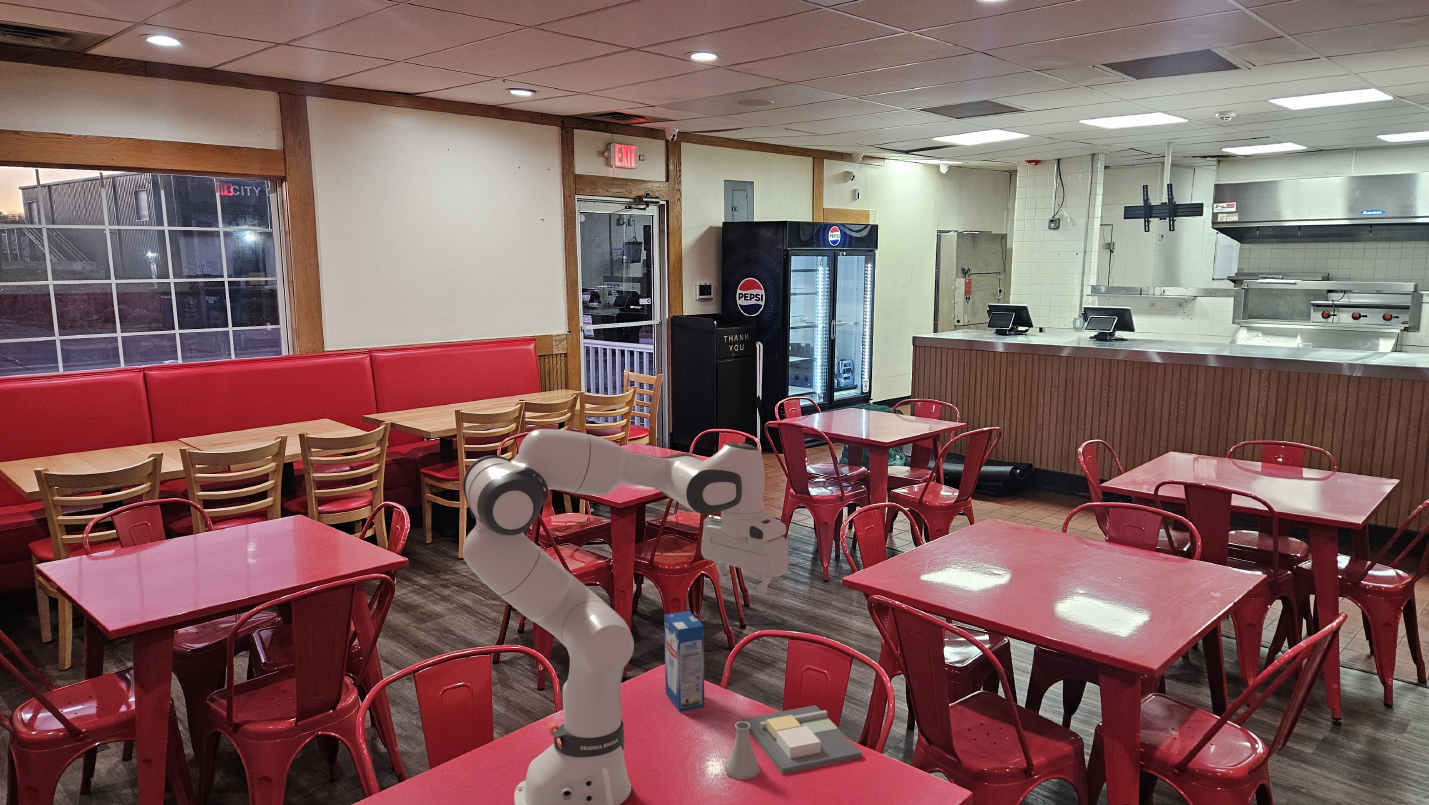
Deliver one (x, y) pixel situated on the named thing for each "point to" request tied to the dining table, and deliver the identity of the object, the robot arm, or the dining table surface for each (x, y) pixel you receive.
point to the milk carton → (684, 660)
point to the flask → (742, 755)
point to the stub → (781, 724)
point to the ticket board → (804, 762)
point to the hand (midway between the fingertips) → (743, 587)
